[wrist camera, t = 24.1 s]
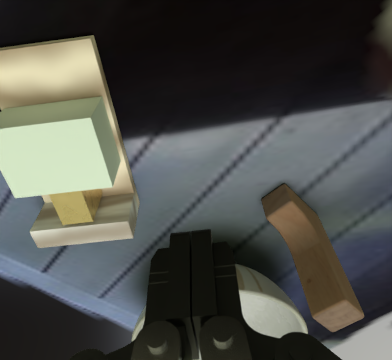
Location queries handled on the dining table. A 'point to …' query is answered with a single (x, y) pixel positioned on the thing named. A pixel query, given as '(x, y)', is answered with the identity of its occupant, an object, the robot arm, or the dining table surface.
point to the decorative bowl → (259, 306)
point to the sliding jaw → (58, 147)
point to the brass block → (77, 205)
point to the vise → (63, 91)
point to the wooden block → (313, 259)
